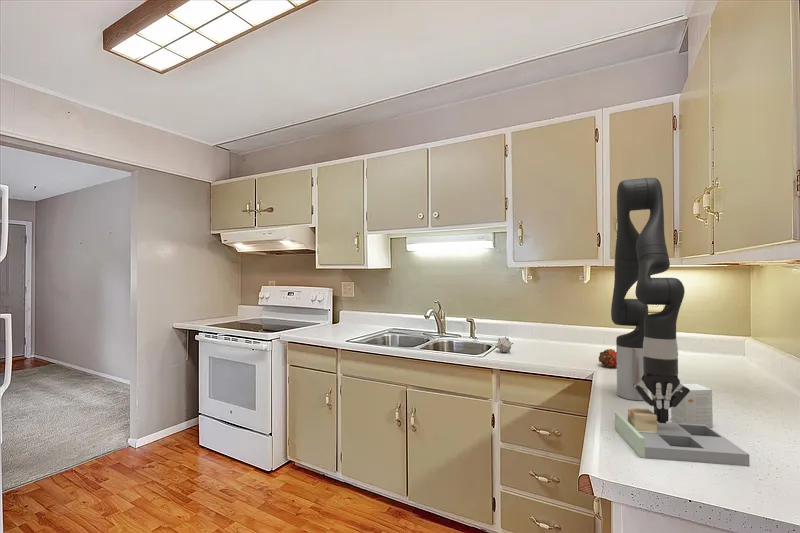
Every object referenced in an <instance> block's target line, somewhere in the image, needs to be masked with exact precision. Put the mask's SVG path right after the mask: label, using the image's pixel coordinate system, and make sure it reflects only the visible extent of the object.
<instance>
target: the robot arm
mask: <svg viewBox="0 0 800 533" xmlns="http://www.w3.org/2000/svg"><path fill="white" fill-rule="evenodd" d="M662 188H663V187H662V184H661V182H660V180H659V179H658V178H656V177H644V178H643V177H642V178H631V179H624V180H621V181H620V182H619V183H618V185H617V190H616V221H617V222H616V224H617V225H616V226H617V227H616V228H617V229H616V240H615V249H614V250H615V253H614V282H613V283H614V284H613V292H612V298H611V299H612V300H611V305H610V306H611V309H610V318H611V321H612V323H613V324H614V325H617V326H622V327H623V326H624V327H627V326H628V327H635V328H633V329H632V331H630V332H627V333H624V334H619V335H618V336H617V337H616V341H615V342H616V343H615V344H616V346H615V347H616V349H615V352H617V367H616V395H617V396H618V397H620V398H623V399H627V400H631V401H644V402H645V403H646V404H648V405H649V406H650V407H653V413H654V414H655V415H656V416H657V422H659V423H666V422H668V421H669V409H671V407H676V406H677V405H678V404H679V403H680V402H681V401H682V400H683V398H684V397H685V396H686V395H687V394H688V393H689V392H690V390H689V389H688V388H687V387H685V386H683V385H682V384H683V383H681V380H680V378H679V376H678V375H679V351H678V349H679V347H678V341H677V320H678V317H679V313H680V309H681V307H682V304H683V300H684V297H685V286H684V284H683V282H682V281H681V280H680V279H678V278H676V277H651V276H654V275H658V274H661V273H662V274H663V273H665V272H666V271H668V270H669V269H670V266H671V263H670V257H669V252H668V248H667V244H666V243H667V242H666V238H665V236H666V235H665V212H664V210H665V209H664V197H663V196H664V195H663V189H662ZM643 210H644V211H645V210H646V211H647V210H649V217H648V220H647V222H646V224H645V225H644V226H643V229H642V230H641V231H640V233H639V232H638V230H637V228H636V227H635V225H634V224H633V221H632V220H631V217H630V216H631V215H630V213H631V212H633V211H643ZM634 284H636V286H635V291H634V292H635V297H636V298H626V295H627V293H628V292H629V291H630V289H631V288H632V286H634ZM649 305H650V306H652V305H655V306H656V305H657V306H664V307H663V309H662V310H661V311H659V312H654V313H649ZM675 389H676V391H675V393H674V394H673V395H672V396H671V394H672V393H673V392H674V390H675ZM649 392H650V396H651V397H650V396H649Z"/></svg>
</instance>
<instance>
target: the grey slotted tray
mask: <svg viewBox="0 0 800 533" xmlns="http://www.w3.org/2000/svg"><path fill="white" fill-rule="evenodd" d="M614 429H615V430H616V431H617V433H620V434H619V435H620V436H621V437H622V438H623V440H624V441H625V442H626V443H627V444H628V445H629V447H630V448H631V449H632V450H633V451H634V453H636V454H637V456H638V457H639V458H642V459H656V460H666V461H667V460H668V461H669V460H670V461H679V462H680V461H681V462H682V461H683V462H694V463H695V462H697V463H707V464H708V463H709V464H721V465H722V464H723V465H732V466H733V465H734V466H746V467H750V453H748V452H746V451H745V450H744V449H742V448H741V447H739V446H738V445H736V444H735V443H734V442H731V441H730V440H729V439H727V438H726V437H725V436H724V435H721V434H720V433H719V432H717V431H715V430H714V429H712V427H708V426H707V425H704V424H687V423H675V422H668V421H666V423H659V422H657V432H653V431H637V430H636V429H635V428H634V427H633V426H632V425H631V424H630V423H629V422H628V419H626V418H625V416H623V415H622V414H621V413H620V412H619V411H614Z"/></svg>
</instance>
